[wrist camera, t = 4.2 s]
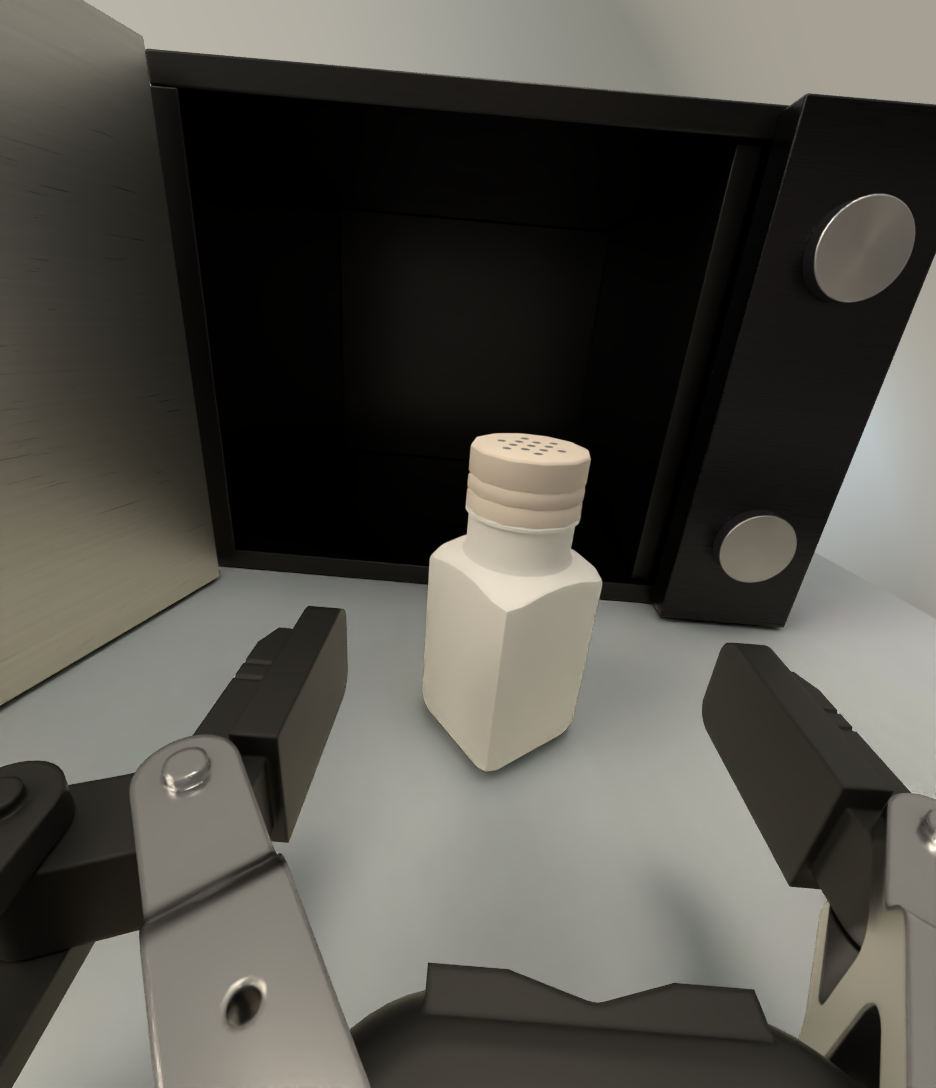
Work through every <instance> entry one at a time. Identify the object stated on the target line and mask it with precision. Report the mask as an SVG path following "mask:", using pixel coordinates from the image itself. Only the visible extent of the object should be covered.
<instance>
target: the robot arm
mask: <svg viewBox="0 0 936 1088" xmlns="http://www.w3.org/2000/svg"><path fill="white" fill-rule="evenodd" d="M347 672H348V663H347V627H346V613H345V610H344V609H338V608H326V607H315V606H308V607H307V608H306V609H305V610H304V612H303V613H302V615H301V617H300V618H299V620H298V621H297V623H296V625H295V626H294V628H293V629H289V628H278V629H276V630H275V631H273V632H272V633H270V634H269V635H267V636H266V637H265V638H263V639H262V640H260V641H259V642H258V643H257V644H256V646H255V647H254V649H253V650H252V652H251V653H250V654H249V656H248V657H247V659H246V663H243V664H242V666H241V667H240V669H239V670H238V672H237V673H236V676H235V678H233V679H232V680H231V681H230V683H229V684H228V686H227V687H226V689H225V690H224V691H223V693H222V694H221V696H220V697H219V699H218V700H217V701H216V703H215V704H214V706H213V707H212V709H211V710H210V711H209V713H208V714H207V716H206V717H205V719H204V720H203V721H202V723H201V724H200V726H199V727H198V729H197V730H196V731H195V733H194V734H193V736H190V737H186V738H183V739H179V740H177V741H174V742H172V743H170V744H168V745H166V746H164V747H162V748H161V749H159V750H158V751H156V752H155V753H153V754H152V755H151V756H150V757H148V758H147V759H146V760H145V761H144V762H143V763H142V764H141V765H140V767H139V768H138V769H137V771H136V772H135V773H131V774H127V775H122V776H116V777H111V778H105V779H100V780H94V781H88V782H83V783H77V784H72V785H68V784H67V781H66V778H65V776H64V773H63V771H62V770H61V769H60V767H58V766H57V765H55V764H53V763H50V762H47V761H25V762H18V763H14V764H10V765H6V766H3V767H0V1088H12V1087H13V1085H14V1083H15V1081H16V1080H17V1078H18V1076H19V1074H20V1073H21V1071H22V1069H23V1067H24V1066H25V1064H26V1062H27V1060H28V1059H29V1057H30V1055H31V1053H32V1052H33V1050H34V1048H35V1046H36V1045H37V1043H38V1041H39V1039H40V1037H41V1036H42V1034H43V1032H44V1030H45V1029H46V1027H47V1025H48V1023H49V1022H50V1020H51V1018H52V1016H53V1015H54V1013H55V1011H56V1009H57V1008H58V1006H59V1004H60V1002H61V1001H62V999H63V997H64V995H65V994H66V992H67V990H68V988H69V987H70V985H71V983H72V981H73V980H74V978H75V976H76V974H77V973H78V971H79V969H80V967H81V966H82V964H83V962H84V960H85V959H86V957H87V955H88V953H89V952H90V950H91V948H92V946H93V945H94V943H95V941H99V940H103V939H107V938H110V937H114V936H118V935H122V934H125V933H129V932H133V931H137V930H139V939H140V952H141V962H142V972H143V981H144V991H145V1000H146V1010H147V1019H148V1029H149V1038H150V1048H151V1057H152V1067H153V1076H154V1086H155V1088H936V800H935V799H933V798H930V797H927V796H923V795H919V794H913V793H911V792H910V791H909V790H908V789H907V788H906V787H905V786H904V785H903V783H902V782H901V781H900V780H899V779H898V778H897V777H896V776H895V774H894V773H893V772H892V771H891V770H890V769H889V768H888V767H887V766H886V764H885V763H884V762H883V761H882V760H881V759H880V758H879V757H878V755H877V754H876V753H875V752H874V751H873V750H872V749H871V748H870V746H869V745H868V744H867V743H866V742H865V741H864V740H863V739H862V738H861V736H860V735H859V734H858V733H857V732H855V731H852V726H851V725H850V724H849V723H848V722H847V721H846V720H845V719H844V717H843V716H842V715H841V714H837V710H836V708H835V707H834V706H833V705H832V704H831V703H830V702H829V701H828V700H827V698H826V697H825V696H824V695H823V694H822V693H821V692H820V691H819V690H818V689H817V688H815V687H814V686H813V685H811V684H810V683H808V682H807V681H806V680H804V679H803V678H801V677H800V676H799V675H797V674H796V673H794V672H791V671H790V670H789V669H788V668H787V667H786V665H785V664H784V663H783V662H782V661H781V660H780V658H779V657H778V656H777V655H776V654H775V653H774V651H773V650H772V649H771V648H769V647H768V646H765V645H754V644H742V643H726V644H725V645H724V646H723V647H722V649H721V651H720V653H719V656H718V659H717V662H716V665H715V667H714V670H713V673H712V676H711V679H710V682H709V685H708V687H707V690H706V693H705V696H704V699H703V704H702V717H703V722H704V726H705V728H706V731H707V733H708V735H709V736H710V738H711V740H712V742H713V744H714V746H715V748H716V750H717V751H718V753H719V755H720V757H721V759H722V761H723V763H724V764H725V766H726V768H727V770H728V772H729V774H730V776H731V778H732V779H733V781H734V783H735V785H736V787H737V789H738V791H739V793H740V794H741V796H742V798H743V800H744V802H745V804H746V806H747V808H748V809H749V811H750V813H751V815H752V817H753V819H754V821H755V823H756V824H757V826H758V828H759V830H760V832H761V834H762V836H763V838H764V839H765V841H766V843H767V845H768V847H769V849H770V851H771V853H772V854H773V856H774V858H775V860H776V862H777V864H778V866H779V868H780V869H781V871H782V873H783V875H784V877H785V879H786V881H787V883H788V884H789V886H790V887H801V888H813V889H821V890H822V892H823V894H824V895H825V897H826V899H827V902H826V903H825V905H824V907H823V908H822V910H821V913H820V917H819V924H818V931H817V938H816V945H815V952H814V959H813V966H812V973H811V980H810V987H809V994H808V1001H807V1008H806V1014H805V1018H804V1022H803V1026H802V1029H801V1032H800V1035H799V1037H798V1039H797V1038H795V1037H793V1036H791V1035H790V1034H788V1033H786V1032H784V1031H782V1030H780V1029H778V1028H776V1027H774V1026H772V1025H770V1024H768V1023H767V1021H766V1018H765V1016H764V1013H763V1011H762V1008H761V1006H760V1003H759V1001H758V998H757V996H756V993H755V991H754V990H753V989H740V988H728V987H716V986H704V985H692V984H680V983H672V984H669V985H665V986H661V987H658V988H654V989H650V990H646V991H643V992H639V993H635V994H631V995H628V996H624V997H620V998H617V999H613V1000H609V1001H605V1002H600V1003H596V1002H590V1001H587V1000H584V999H582V998H579V997H577V996H574V995H571V994H569V993H566V992H564V991H561V990H559V989H556V988H554V987H551V986H549V985H546V984H544V983H541V982H539V981H536V980H534V979H531V978H529V977H526V976H524V975H521V974H519V973H516V972H514V971H511V970H509V969H498V968H486V967H474V966H461V965H449V964H437V963H428V970H427V981H426V990H424V991H421V992H417V993H413V994H409V995H406V996H404V997H402V998H399V999H397V1000H395V1001H392V1002H390V1003H388V1004H386V1005H384V1006H383V1007H381V1008H379V1009H378V1010H376V1011H374V1012H373V1013H371V1014H369V1015H368V1016H367V1017H365V1018H364V1019H363V1020H362V1021H360V1022H359V1023H358V1024H357V1025H355V1026H354V1027H353V1028H351V1029H350V1030H349V1028H348V1025H347V1022H346V1020H345V1017H344V1014H343V1012H342V1009H341V1006H340V1004H339V1001H338V998H337V996H336V993H335V990H334V988H333V985H332V982H331V980H330V977H329V974H328V972H327V969H326V966H325V964H324V961H323V958H322V956H321V953H320V950H319V947H318V945H317V942H316V939H315V937H314V934H313V931H312V929H311V926H310V923H309V921H308V918H307V915H306V913H305V910H304V907H303V905H302V902H301V899H300V897H299V894H298V891H297V889H296V886H295V883H294V881H293V878H292V875H291V873H290V870H289V868H288V865H287V863H286V861H285V859H284V857H283V855H282V854H281V853H279V854H276V852H275V850H274V848H273V845H272V842H271V841H274V842H286V843H289V840H290V837H291V835H292V832H293V830H294V827H295V824H296V822H297V819H298V816H299V814H300V811H301V808H302V806H303V803H304V800H305V798H306V795H307V792H308V790H309V787H310V784H311V782H312V779H313V776H314V774H315V771H316V768H317V766H318V763H319V760H320V758H321V755H322V752H323V750H324V747H325V744H326V742H327V739H328V736H329V734H330V731H331V728H332V726H333V723H334V720H335V718H336V715H337V712H338V710H339V707H340V704H341V702H342V699H343V696H344V692H345V688H346V682H347Z"/></svg>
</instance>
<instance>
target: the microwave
mask: <svg viewBox="0 0 936 1088" xmlns="http://www.w3.org/2000/svg"><path fill="white" fill-rule="evenodd" d="M145 53H146V60H147V67H148V74H149V81H150V84H151V85H152V86H150V89H151V96H152V103H153V110H154V118H155V125H156V132H157V139H158V146H159V153H160V160H161V167H162V174H163V181H164V188H165V195H166V202H167V209H168V216H169V223H170V230H171V237H172V244H173V251H174V258H175V265H176V272H177V279H178V286H179V293H180V300H181V307H182V314H183V321H184V328H185V335H186V342H187V349H188V356H189V364H190V371H191V378H192V385H193V392H194V399H195V406H196V413H197V420H198V427H199V434H200V441H201V448H202V455H203V462H204V469H205V476H206V483H207V490H208V497H209V504H210V511H211V518H212V525H213V532H214V539H215V546H216V553H217V560H218V565H219V566H230V567H242V568H253V569H265V570H276V571H288V572H299V573H311V574H322V575H333V576H345V577H356V578H368V579H379V580H391V581H402V582H414V583H425V584H428V579H429V561H430V557H431V555H432V554H433V553H434V552H435V551H436V550H437V549H438V548H439V547H440V546H441V545H443V544H444V543H447V542H449V541H451V540H454V539H456V538H458V537H461V536H463V535H467V527H468V515H469V513H468V512H467V510H466V497H467V489H468V475H469V473H470V471H469V461H470V449H471V444H472V443H473V441H474V440H475V439H476V437H479V436H484V435H489V434H494V433H522V434H531V435H539V436H548V437H552V438H556V439H560V440H565V441H569V442H572V443H574V444H576V445H579V446H581V447H583V448H585V449H587V450H588V451H589V455H590V459H591V461H590V467H589V472H588V477H587V483H586V485H585V493H584V499H583V501H582V509H581V517H580V521H579V524H578V525H576V526H575V530H574V535H573V541H572V546H571V549H572V550H574V551H576V552H577V553H578V554H580V555H581V556H582V557H583V558H584V559H585V560H587V561H588V562H589V563H590V564H591V565H593V566H594V567H595V568H596V570H597V572H598V574H599V576H600V577H601V579H602V589H601V593H600V598H599V599H609V600H620V601H632V602H643V603H653V605H654V607H655V609H656V610H657V612H658V614H659V616H661V617H671V618H683V619H694V620H706V621H717V622H729V623H740V624H752V625H763V626H775V627H784V626H785V623H786V621H787V618H788V616H789V613H790V611H791V608H792V606H793V603H794V601H795V598H796V596H797V594H798V591H799V589H800V586H801V584H802V581H803V579H804V576H805V574H806V571H807V569H808V566H809V564H810V561H811V559H812V557H813V554H814V552H815V549H816V546H817V544H818V542H819V539H820V537H821V534H822V532H823V529H824V527H825V524H826V522H827V519H828V517H829V514H830V512H831V510H832V507H833V505H834V502H835V500H836V497H837V495H838V493H839V490H840V488H841V485H842V483H843V480H844V478H845V475H846V473H847V470H848V468H849V465H850V463H851V460H852V458H853V455H854V453H855V451H856V448H857V446H858V443H859V441H860V438H861V436H862V433H863V431H864V428H865V426H866V423H867V421H868V419H869V416H870V413H871V411H872V409H873V406H874V404H875V401H876V399H877V396H878V394H879V392H880V389H881V387H882V384H883V382H884V379H885V376H886V374H887V372H888V369H889V367H890V364H891V362H892V360H893V356H894V355H895V352H896V350H897V347H898V345H899V342H900V340H901V337H902V335H903V332H904V330H905V327H906V325H907V323H908V320H909V318H910V315H911V313H912V310H913V308H914V305H915V303H916V300H917V298H918V295H919V293H920V290H921V288H922V286H923V283H924V281H925V278H926V275H927V273H928V270H929V268H930V266H931V263H932V261H933V259H934V256H935V254H936V105H934V104H922V103H921V104H920V103H911V102H900V101H887V100H877V99H866V98H853V97H843V96H831V95H820V94H809V93H808V94H806V95H804V96H803V97H801V98H800V99H799V100H798V101H796V102H794V103H793V104H792V105H790V106H788V105H777V104H766V103H755V102H743V101H732V100H721V99H710V98H698V97H687V96H676V95H664V94H652V93H641V92H630V91H619V90H608V89H596V88H585V87H573V86H562V85H551V84H539V83H527V82H517V81H505V80H493V79H482V78H471V77H460V76H449V75H438V74H427V73H415V72H404V71H393V70H381V69H370V68H358V67H347V66H335V65H324V64H314V63H302V62H291V61H280V60H268V59H257V58H246V57H234V56H223V55H211V54H200V53H189V52H178V51H166V50H155V49H146V50H145Z"/></svg>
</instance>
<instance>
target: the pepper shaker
mask: <svg viewBox="0 0 936 1088" xmlns="http://www.w3.org/2000/svg"><path fill="white" fill-rule="evenodd" d="M590 461H591V459H590V455H589V451H588V450H587V449H585V448H583V447H581V446H579V445H576V444H574V443H572V442H569V441H565V440H560V439H556V438H552V437H548V436H539V435H531V434H522V433H494V434H489V435H484V436H479V437H476V439H475V440H474V441H473V443H472V444H471V449H470V461H469V471H470V473H469V475H468V489H467V497H466V510H467V512H468V513H469V515H468V527H467V535H463V536H461V537H458V538H456V539H454V540H451V541H449V542H447V543H444V544H443V545H441V546H440V547H439V548H438V549H437V550H436V551H435V552H434V553H433V554H432V555H431V557H430V561H429V579H428V598H427V616H426V634H425V652H424V670H423V689H422V693H423V698H424V702H425V704H426V706H427V708H428V710H429V711H430V712H431V713H432V714H433V716H434V717H435V718H436V719H437V720H438V722H439V723H440V724H441V725H442V726H443V727H444V729H445V730H446V731H447V732H448V733H449V735H450V736H451V737H452V738H453V739H454V740H455V742H456V743H457V744H458V745H459V746H460V748H461V749H462V750H463V751H464V752H465V753H466V755H467V756H468V757H469V758H470V759H471V761H472V762H473V763H474V764H475V765H476V766H477V767H478V768H480V769H482V770H484V771H486V772H487V771H495V770H498V769H499V768H501V767H503V766H505V765H507V764H508V763H510V762H512V761H514V760H516V759H517V758H519V757H521V756H523V755H525V754H526V753H528V752H530V751H532V750H534V749H535V748H537V747H539V746H541V745H543V744H544V743H546V742H548V741H550V740H552V739H553V738H555V737H557V736H559V735H560V734H562V733H563V732H564V731H565V730H566V729H567V728H568V726H569V725H570V723H571V721H572V720H573V716H574V712H575V707H576V703H577V698H578V693H579V689H580V684H581V680H582V675H583V671H584V666H585V662H586V657H587V652H588V648H589V643H590V639H591V634H592V630H593V625H594V620H595V616H596V611H597V607H598V602H599V598H600V593H601V589H602V579H601V577H600V576H599V574H598V572H597V570H596V568H595V567H594V566H593V565H591V564H590V563H589V562H588V561H587V560H585V559H584V558H583V557H582V556H581V555H580V554H578V553H577V552H576V551H574V550H572V549H571V546H572V541H573V535H574V530H575V526H576V525H578V524H579V521H580V517H581V509H582V501H583V499H584V493H585V485H586V483H587V477H588V472H589V467H590Z"/></svg>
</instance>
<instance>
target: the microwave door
mask: <svg viewBox="0 0 936 1088" xmlns="http://www.w3.org/2000/svg"><path fill="white" fill-rule="evenodd" d="M219 576H220V574H219V567H218V560H217V553H216V546H215V539H214V532H213V525H212V518H211V511H210V504H209V497H208V490H207V483H206V476H205V469H204V462H203V455H202V448H201V441H200V434H199V427H198V420H197V413H196V406H195V399H194V392H193V385H192V378H191V371H190V364H189V356H188V349H187V342H186V335H185V328H184V321H183V314H182V307H181V300H180V293H179V286H178V279H177V272H176V265H175V258H174V251H173V244H172V237H171V230H170V223H169V216H168V209H167V202H166V195H165V188H164V181H163V174H162V167H161V160H160V153H159V146H158V139H157V132H156V125H155V118H154V110H153V103H152V96H151V89H150V82H149V75H148V68H147V61H146V54H145V47H144V40H143V37H142V36H141V35H139V34H138V33H136V32H134V31H133V30H131V29H130V28H128V27H126V26H125V25H123V24H121V23H119V22H118V21H116V20H115V19H113V18H111V17H110V16H108V15H106V14H105V13H103V12H101V11H100V10H98V9H96V8H94V7H93V6H91V5H89V4H88V3H86V2H85V1H83V0H0V706H1V705H2V704H4V703H6V702H7V701H9V700H11V699H12V698H14V697H16V696H17V695H19V694H21V693H23V692H24V691H26V690H28V689H29V688H31V687H33V686H34V685H36V684H38V683H39V682H41V681H43V680H45V679H46V678H48V677H50V676H51V675H53V674H55V673H56V672H58V671H60V670H61V669H63V668H65V667H67V666H68V665H70V664H72V663H73V662H75V661H77V660H78V659H80V658H82V657H83V656H85V655H87V654H89V653H90V652H92V651H94V650H95V649H97V648H99V647H100V646H102V645H104V644H106V643H107V642H109V641H111V640H112V639H114V638H116V637H117V636H119V635H121V634H122V633H124V632H126V631H128V630H129V629H131V628H133V627H134V626H136V625H138V624H139V623H141V622H143V621H144V620H146V619H148V618H150V617H151V616H153V615H155V614H156V613H158V612H160V611H161V610H163V609H165V608H166V607H168V606H170V605H172V604H173V603H175V602H177V601H178V600H180V599H182V598H183V597H185V596H187V595H188V594H190V593H192V592H194V591H195V590H197V589H199V588H200V587H202V586H204V585H205V584H207V583H209V582H210V581H212V580H214V579H216V578H217V577H219Z"/></svg>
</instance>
